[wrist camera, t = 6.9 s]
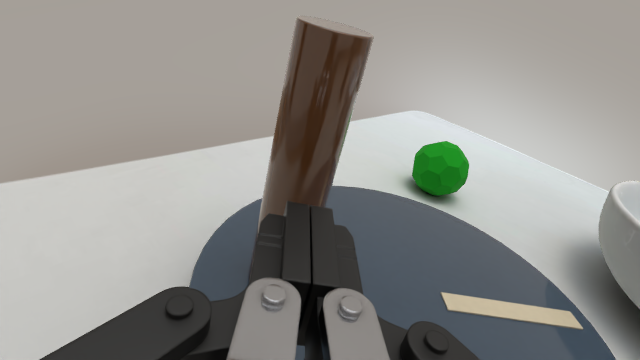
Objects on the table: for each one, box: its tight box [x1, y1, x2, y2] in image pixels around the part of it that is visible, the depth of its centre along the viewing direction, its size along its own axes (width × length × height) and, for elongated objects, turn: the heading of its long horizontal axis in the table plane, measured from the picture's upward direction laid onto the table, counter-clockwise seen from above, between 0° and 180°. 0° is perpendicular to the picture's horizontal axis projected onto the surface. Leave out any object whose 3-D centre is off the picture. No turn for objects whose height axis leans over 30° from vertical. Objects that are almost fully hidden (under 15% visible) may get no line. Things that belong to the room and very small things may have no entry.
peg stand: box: [189, 16, 616, 360], centre depth 17 cm, size 22×22×14 cm
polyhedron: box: [412, 141, 469, 195], centre depth 35 cm, size 5×5×5 cm
